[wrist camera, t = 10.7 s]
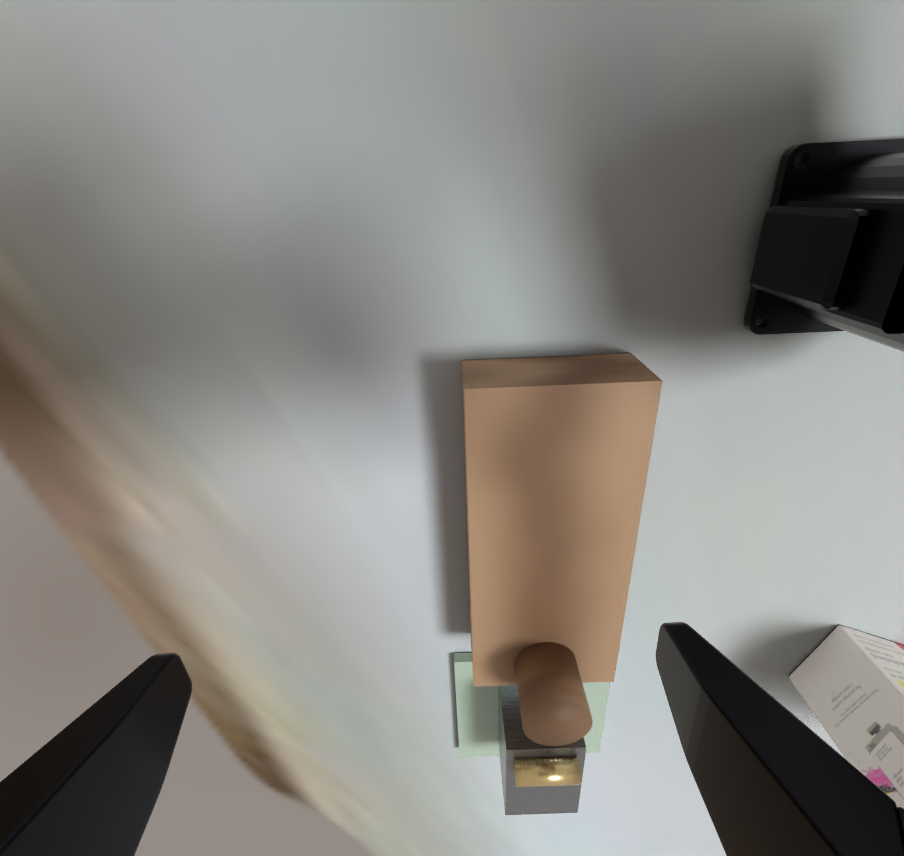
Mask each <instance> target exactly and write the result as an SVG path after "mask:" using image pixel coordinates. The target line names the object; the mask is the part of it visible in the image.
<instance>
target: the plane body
mask: <svg viewBox="0 0 904 856" xmlns="http://www.w3.org/2000/svg"><path fill="white" fill-rule="evenodd" d="M661 385H662V380H661V379H660V378H658V377H657V376H656V375H655V374H654V373H653V372H652V371H651V370H649V369H648V368H647V367H646V366H645V365H644V364H643V363H642V362H640V361H639V360H638V359H637V358H636V357H635V356H634V355H633V354H631V353H626V354H603V355H579V356H555V357H532V358H508V359H485V360H462V387H463V417H464V447H465V477H466V507H467V537H468V567H469V597H470V627H471V648H472V666H473V684H474V687H478V686H506V685H517V691H518V698H519V705H520V712H521V719H522V726H523V731H524V733H525V735H526V736H527V737H528V738H529V739H530V740H532V741H533V742H535V743H538V744H541V745H546V746H561V745H567V744H570V743H573V742H576V741H578V740H580V739H581V738H583V737H584V736H585V735H586V734H587V733H588V732H589V731H590V729H591V727H592V723H593V720H592V716H591V712H590V709H589V705H588V701H587V698H586V694H585V691H584V687H583V683H588V682H614V676H615V670H616V664H617V658H618V652H619V645H620V639H621V633H622V627H623V621H624V614H625V608H626V602H627V596H628V590H629V583H630V577H631V571H632V565H633V559H634V552H635V546H636V540H637V534H638V528H639V521H640V515H641V509H642V503H643V497H644V490H645V484H646V478H647V472H648V466H649V460H650V453H651V447H652V441H653V435H654V429H655V422H656V416H657V410H658V404H659V398H660V391H661Z"/></svg>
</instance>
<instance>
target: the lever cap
mask: <svg viewBox="0 0 904 856" xmlns="http://www.w3.org/2000/svg"><path fill="white" fill-rule="evenodd" d="M498 742H499V753H500V763H501V774H502V784H503V795H504V806H505V815H521V814H550V813H577V811H578V804H579V797H580V789H581V782H582V775H583V767H584V760H585V753H586V745H585V741H584V737H583V738H581V739H580V740H578V741H576V742H573V743H570V744H567V745H561V746H546V745H541V744H538V743H535V742H533V741H532V740H530V739H529V738H528V737H527V736H526V735H525V733H524V731H523V726H522V719H521V712H520V705H519V698H518V691H517V685H506V686H499V724H498Z"/></svg>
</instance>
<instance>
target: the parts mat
mask: <svg viewBox="0 0 904 856" xmlns="http://www.w3.org/2000/svg"><path fill="white" fill-rule="evenodd" d="M454 669H455V687H456V704H457V722H458V739H459V757H483V756H500V753H499V742H498V724H499V686H478V687H474V684H473V666H472V652H471V653H454ZM583 687H584V691H585V694H586V698H587V701H588V705H589V709H590V712H591V716H592V720H593V723H592V727H591V729H590V731H589V732H588V733H587V734H586V735H585V736H584V741H585V745H586V753H597V752H599V751H600V744H601V738H602V731H603V725H604V719H605V712H606V706H607V700H608V693H609V687H610V682H588V683H583Z"/></svg>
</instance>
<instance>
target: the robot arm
mask: <svg viewBox="0 0 904 856" xmlns="http://www.w3.org/2000/svg"><path fill="white" fill-rule="evenodd" d="M799 154H801V156H802V162H801V164H800V166H799V167H798V168H796V167H795V159H796V157H797V156H798V155H799ZM750 282H751V284H752V288H751V292H750V296H749V301H748V305H747V310H746V314H745V318H744V326H745V328H746V329H747V330H749V331H750V332H752V333H755V334H781V333H804V332H828V331H847V332H850V333H853V334H856V335H859V336H861V337H864V338H867V339H870V340H873V341H876V342H878V343H881V344H884V345H887V346H890V347H893V348H895V349H898V350H901V351H904V139H894V140H872V141H850V142H829V143H807V144H799V145H795V146H792V147H791V148H789V149H788V150H787V151H786V152H785V153H784V154H783V156H782V158H781V161H780V165H779V169H778V173H777V178H776V182H775V187H774V191H773V195H772V200H771V204H770V209H769V210H768V211H767V213H766V214H765V217H764V222H763V226H762V231H761V235H760V240H759V244H758V248H757V253H756V257H755V262H754V266H753V271H752V275H751V280H750ZM760 316H763V321H762V323H760V324H759V325H756V321H757V319H758V318H759V317H760ZM656 662H657V666H658V670H659V673H660V676H661V680H662V683H663V686H664V689H665V693H666V696H667V699H668V702H669V706H670V709H671V712H672V715H673V718H674V722H675V725H676V728H677V731H678V735H679V738H680V741H681V744H682V747H683V750H684V753H685V756H686V759H687V761H688V764H689V766H690V769H691V772H692V774H693V776H694V779H695V781H696V784H697V786H698V788H699V791H700V793H701V795H702V798H703V800H704V803H705V805H706V807H707V810H708V812H709V815H710V817H711V819H712V822H713V824H714V826H715V829H716V831H717V834H718V836H719V838H720V841H721V843H722V846H723V848H724V850H725V853H726V855H727V856H904V808H902V807H897V805H896V803H895V801H894V800H893V799H892V798H890V797H889V796H888V795H887V794H886V793H885V792H883V791H882V790H881V789H880V788H879V787H877V786H876V785H875V784H874V783H873V782H872V781H870V780H869V779H868V778H867V777H866V776H865V775H863V774H862V773H861V772H860V771H859V770H858V769H856V768H855V767H854V766H853V765H852V764H851V763H849V762H848V761H847V760H846V759H845V758H844V757H842V756H841V755H840V754H839V753H838V752H837V751H835V750H834V749H833V748H832V747H831V746H830V745H828V744H827V743H826V742H825V741H824V740H822V739H821V738H820V737H819V736H818V735H817V734H815V733H814V732H813V731H812V730H811V729H810V728H808V727H807V726H806V725H805V724H804V723H803V722H801V721H800V720H799V719H798V718H797V717H796V716H794V715H793V714H792V713H791V712H790V711H789V710H787V709H786V708H785V707H784V706H783V705H782V704H780V703H779V702H778V701H777V700H776V699H775V698H773V697H772V696H771V695H770V694H769V693H767V692H766V691H765V690H764V689H763V688H762V687H760V686H759V685H758V684H757V683H756V682H755V681H753V680H752V679H751V678H750V677H749V676H748V675H746V674H745V673H744V672H743V671H742V670H741V669H739V668H738V667H737V666H736V665H735V664H734V663H732V662H731V661H730V660H729V659H728V658H727V657H725V656H724V655H723V654H722V653H721V652H720V651H718V650H717V649H716V648H715V647H714V646H712V645H711V644H710V643H709V642H708V641H707V640H705V639H704V638H703V637H702V636H701V635H700V634H698V633H697V632H696V631H695V630H694V629H693V628H691V627H690V626H689V625H688V624H686V623H683V622H674V623H664V624H662V625H661V627H660V631H659V637H658V643H657V650H656ZM191 692H192V682H191V679H190V676H189V674H188V672H187V670H186V668H185V666H184V664H183V662H182V660H181V658H180V656H179V655H178V654H176V653H164V654H156V655H153V656H151V657H150V658H148V659H147V660H146V661H145V662H144V663H142V664H141V665H140V666H139V667H138V668H136V669H135V670H134V671H133V672H132V673H131V674H129V675H128V676H127V677H126V678H125V679H123V680H122V681H121V682H120V683H119V684H117V685H116V686H115V687H114V688H112V689H111V690H110V691H109V692H108V693H107V694H105V695H104V696H103V697H102V698H101V699H100V700H98V701H97V702H96V703H95V704H93V705H92V706H91V707H90V708H89V709H87V710H86V711H85V712H84V713H83V714H81V715H80V716H79V717H78V718H77V719H75V720H74V721H73V722H72V723H71V724H69V725H68V726H67V727H66V728H65V729H63V730H62V731H61V732H60V733H59V734H58V735H56V736H55V737H54V738H53V739H52V740H50V741H49V742H48V743H47V744H46V745H44V746H43V747H42V748H41V749H40V750H38V751H37V752H36V753H35V754H33V756H31V757H30V758H29V759H28V760H26V761H25V762H24V763H23V764H22V765H20V766H19V767H18V768H17V769H16V770H14V771H13V772H12V773H11V774H10V775H8V776H7V777H6V778H5V779H4V780H2V781H1V782H0V856H134V855H135V852H136V850H137V847H138V845H139V842H140V840H141V837H142V835H143V833H144V830H145V828H146V825H147V823H148V820H149V818H150V815H151V813H152V811H153V808H154V805H155V803H156V801H157V798H158V796H159V793H160V790H161V788H162V785H163V782H164V780H165V776H166V774H167V770H168V768H169V765H170V761H171V758H172V755H173V752H174V748H175V745H176V742H177V739H178V735H179V732H180V729H181V725H182V722H183V719H184V716H185V713H186V709H187V706H188V703H189V700H190V696H191Z"/></svg>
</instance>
